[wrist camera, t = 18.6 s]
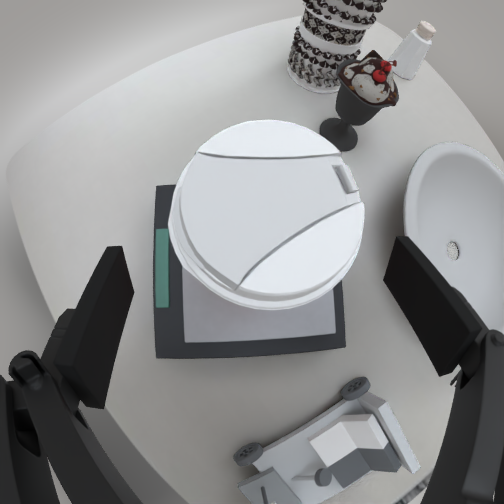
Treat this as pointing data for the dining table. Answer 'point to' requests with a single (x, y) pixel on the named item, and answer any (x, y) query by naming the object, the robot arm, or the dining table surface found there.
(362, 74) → the sundae
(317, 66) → the decorative candle
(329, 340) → the scale
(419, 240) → the white bowl
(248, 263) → the coffee cup
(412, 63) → the pepper shaker
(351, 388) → the toy car
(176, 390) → the dining table surface
